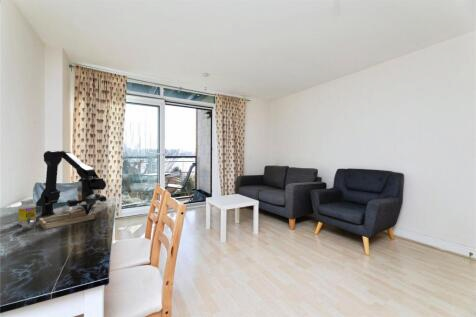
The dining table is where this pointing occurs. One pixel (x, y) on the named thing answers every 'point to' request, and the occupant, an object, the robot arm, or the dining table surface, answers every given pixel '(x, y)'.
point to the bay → (64, 222)
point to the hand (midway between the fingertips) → (87, 214)
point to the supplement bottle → (27, 210)
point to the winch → (27, 224)
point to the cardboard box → (76, 213)
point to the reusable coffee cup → (80, 195)
